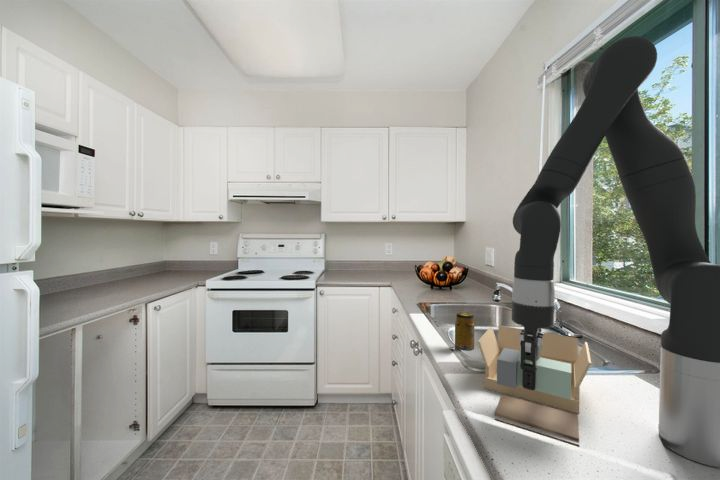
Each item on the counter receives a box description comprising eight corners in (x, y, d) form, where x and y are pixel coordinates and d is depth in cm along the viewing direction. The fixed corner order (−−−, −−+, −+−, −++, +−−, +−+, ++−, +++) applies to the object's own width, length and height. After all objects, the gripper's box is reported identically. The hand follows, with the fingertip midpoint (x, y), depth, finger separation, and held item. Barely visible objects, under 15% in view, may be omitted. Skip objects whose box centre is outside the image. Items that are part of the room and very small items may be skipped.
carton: (585, 385, 78) (586, 339, 78) (590, 421, 63) (591, 364, 62) (491, 363, 90) (492, 324, 90) (475, 389, 75) (476, 341, 75)
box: (570, 385, 63) (571, 361, 63) (570, 403, 56) (571, 375, 56) (503, 369, 70) (504, 347, 70) (496, 383, 63) (497, 359, 63)
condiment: (463, 345, 106) (464, 310, 105) (484, 353, 98) (485, 316, 98) (448, 349, 102) (448, 313, 102) (468, 358, 95) (469, 319, 95)
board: (577, 421, 62) (577, 414, 62) (578, 447, 55) (579, 438, 55) (502, 400, 70) (502, 394, 70) (494, 420, 63) (494, 412, 63)
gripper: (552, 310, 55) (549, 404, 55) (555, 297, 67) (553, 375, 67) (506, 304, 59) (504, 392, 59) (517, 293, 71) (515, 366, 71)
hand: (530, 382), depth 63 cm, fingers closed on box, 5 cm apart
